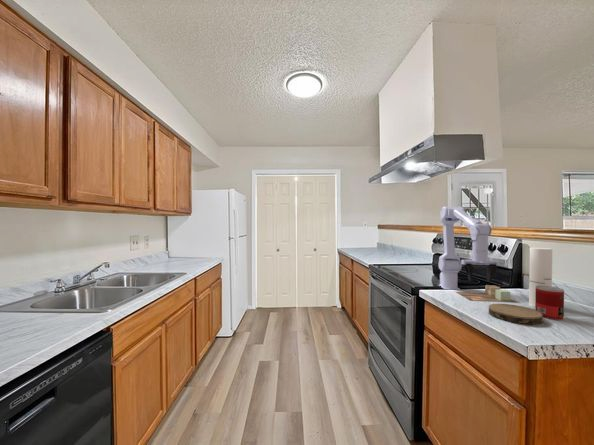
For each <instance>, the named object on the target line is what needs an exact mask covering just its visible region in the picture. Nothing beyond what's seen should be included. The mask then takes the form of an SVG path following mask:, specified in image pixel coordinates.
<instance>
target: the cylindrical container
mask: <svg viewBox="0 0 594 445" xmlns="http://www.w3.org/2000/svg"><path fill="white" fill-rule="evenodd" d="M528 272H529V275H528V276H529V277H528V278H529V279H528V280H529V282H528V283H529V284H528V285H529V286H528V290H529V291H528V292H529V293H528V305H529V306H532V307H534V308H535V302H536V286H540V285H541V286H552V287H553V248H549V247H529V271H528Z"/></svg>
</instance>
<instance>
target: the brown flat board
mask: <svg viewBox="0 0 594 445" xmlns="http://www.w3.org/2000/svg"><path fill="white" fill-rule="evenodd" d="M455 293H456V294H458V295H460V296H461V297H462V298H465V300H468V301H472V302H489V303H491V302H492V303H516V304H519V302H518V301H516V300H514V299H511V298H510V301H502V300H499V299H497V298H495V296H490V295H488V294H486V293H485V292H469V291H468V292H467V291H466V292H465V291H455Z"/></svg>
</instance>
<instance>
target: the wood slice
mask: <svg viewBox="0 0 594 445" xmlns="http://www.w3.org/2000/svg"><path fill="white" fill-rule="evenodd" d="M488 314H489V316H490V317H492V318H495V319H497V320H500V321H503V322H507V323H512V324H516V325H522V326H539V325H542V324H543V317H542V314H541V313H540V312H538V311H536V310H535V309H534V308H533V309H532V308H529V307H525V306H521V305H515V304H509V303H508V304H507V303H492V304H489V305H488Z"/></svg>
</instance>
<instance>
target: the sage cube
mask: <svg viewBox="0 0 594 445" xmlns="http://www.w3.org/2000/svg"><path fill="white" fill-rule="evenodd" d="M495 298H497V299H499V300H502V301H510V299H511V291H509V290H507V289H500V290H498V289H496V293H495Z"/></svg>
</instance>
